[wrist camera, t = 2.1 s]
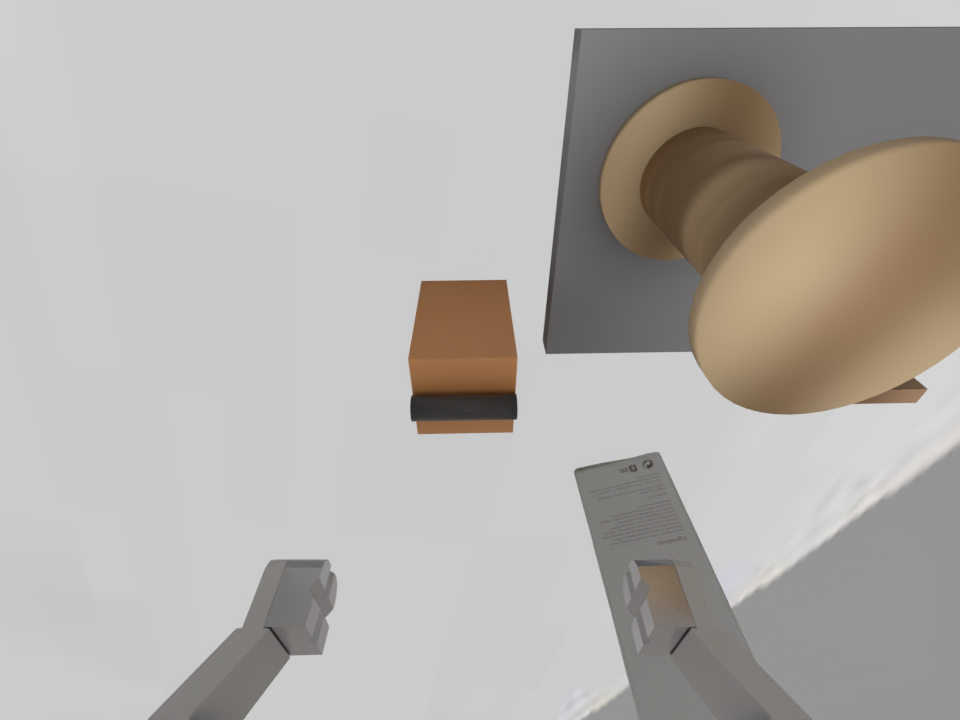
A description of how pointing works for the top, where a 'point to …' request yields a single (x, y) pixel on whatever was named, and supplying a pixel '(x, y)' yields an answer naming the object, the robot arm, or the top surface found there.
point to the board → (804, 142)
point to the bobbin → (791, 247)
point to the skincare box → (647, 536)
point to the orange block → (463, 358)
